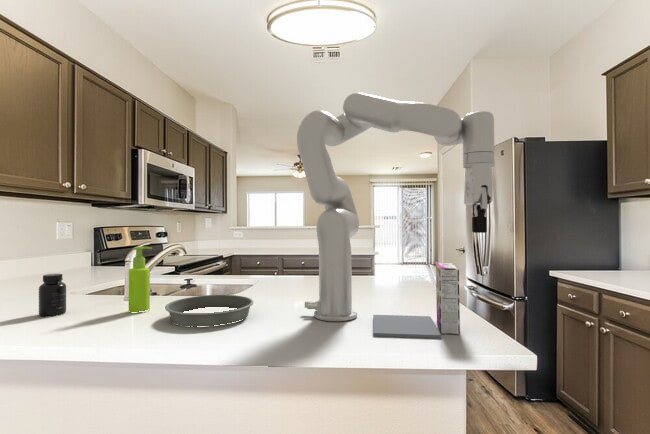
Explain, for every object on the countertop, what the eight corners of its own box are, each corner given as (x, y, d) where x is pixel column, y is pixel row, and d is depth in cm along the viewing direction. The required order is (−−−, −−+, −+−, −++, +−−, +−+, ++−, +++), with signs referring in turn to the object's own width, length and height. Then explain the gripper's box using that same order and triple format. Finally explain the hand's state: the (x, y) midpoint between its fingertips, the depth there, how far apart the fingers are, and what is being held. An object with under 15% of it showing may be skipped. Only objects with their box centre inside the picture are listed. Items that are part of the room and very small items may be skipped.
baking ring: (144, 326, 103) (144, 309, 103) (198, 306, 127) (198, 292, 127) (226, 333, 97) (226, 315, 97) (267, 311, 120) (267, 296, 120)
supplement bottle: (33, 315, 114) (33, 275, 114) (56, 310, 120) (56, 272, 121) (48, 318, 112) (48, 276, 112) (71, 312, 118) (71, 273, 118)
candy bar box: (435, 322, 106) (435, 262, 106) (454, 323, 105) (454, 262, 105) (439, 334, 95) (438, 267, 95) (460, 335, 94) (460, 268, 94)
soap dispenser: (156, 309, 121) (156, 246, 121) (135, 314, 115) (135, 247, 116) (145, 307, 124) (145, 245, 125) (124, 311, 119) (124, 247, 119)
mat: (373, 336, 93) (373, 332, 93) (373, 317, 111) (373, 314, 111) (441, 338, 91) (441, 335, 91) (430, 319, 109) (430, 316, 109)
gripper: (457, 165, 107) (457, 231, 107) (470, 156, 92) (471, 233, 92) (485, 165, 106) (486, 231, 106) (503, 156, 91) (504, 233, 91)
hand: (479, 232), depth 99 cm, fingers closed
